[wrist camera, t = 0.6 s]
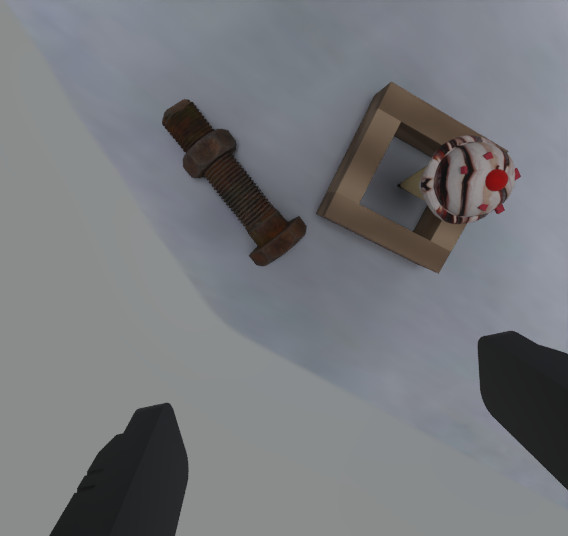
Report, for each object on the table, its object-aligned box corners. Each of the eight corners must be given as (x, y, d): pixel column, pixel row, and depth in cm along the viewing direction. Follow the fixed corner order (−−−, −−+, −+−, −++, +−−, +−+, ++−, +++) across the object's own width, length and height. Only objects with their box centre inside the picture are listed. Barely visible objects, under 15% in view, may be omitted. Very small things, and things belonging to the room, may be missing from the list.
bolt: (190, 115, 33) (287, 239, 36) (146, 139, 31) (253, 270, 34) (206, 76, 28) (317, 225, 31) (155, 102, 26) (279, 260, 29)
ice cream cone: (358, 174, 34) (439, 160, 19) (410, 142, 34) (530, 103, 19) (386, 225, 35) (480, 247, 21) (435, 194, 35) (567, 195, 20)
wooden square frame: (374, 95, 32) (391, 81, 29) (479, 155, 34) (508, 151, 31) (316, 213, 34) (324, 216, 30) (418, 264, 36) (438, 273, 32)
